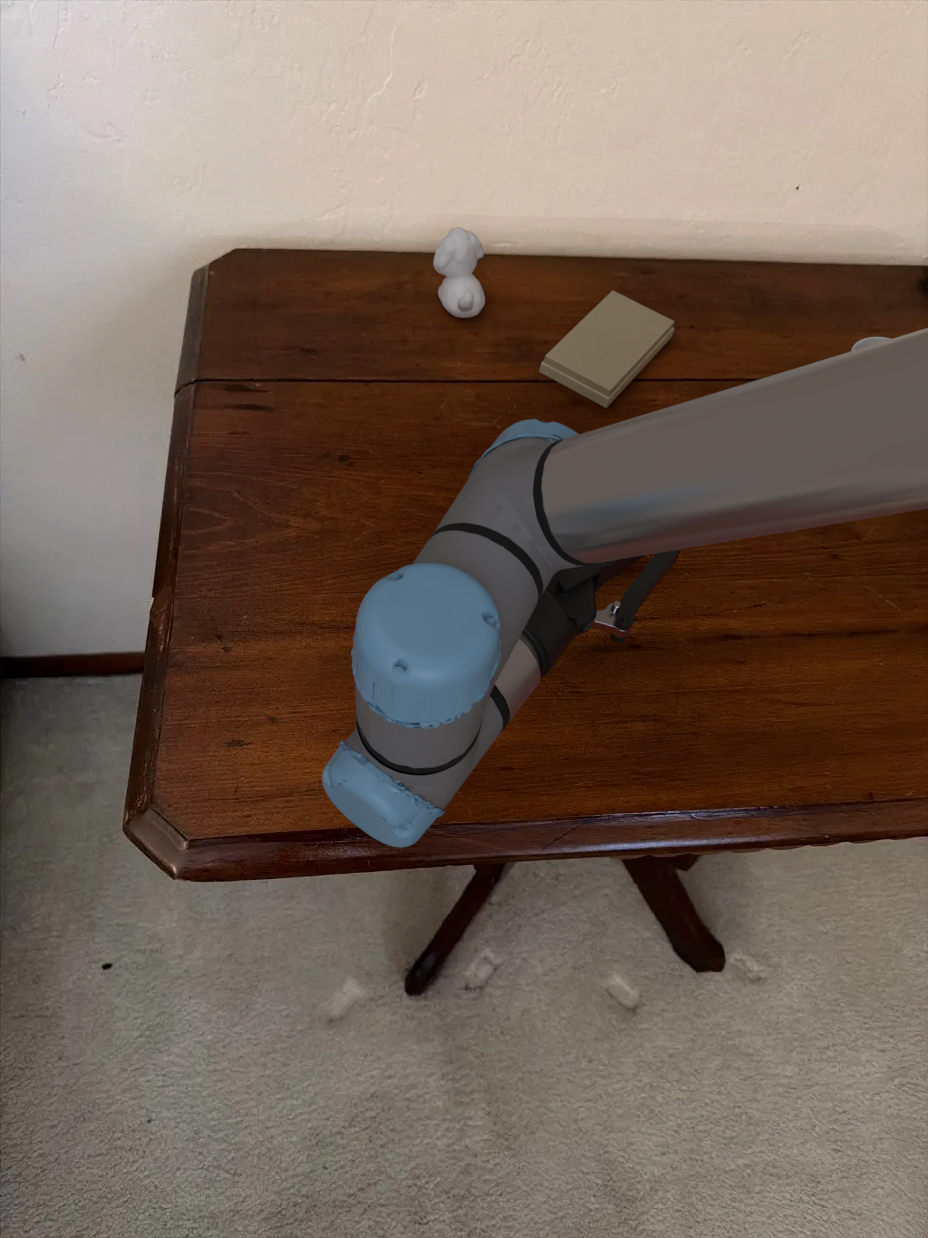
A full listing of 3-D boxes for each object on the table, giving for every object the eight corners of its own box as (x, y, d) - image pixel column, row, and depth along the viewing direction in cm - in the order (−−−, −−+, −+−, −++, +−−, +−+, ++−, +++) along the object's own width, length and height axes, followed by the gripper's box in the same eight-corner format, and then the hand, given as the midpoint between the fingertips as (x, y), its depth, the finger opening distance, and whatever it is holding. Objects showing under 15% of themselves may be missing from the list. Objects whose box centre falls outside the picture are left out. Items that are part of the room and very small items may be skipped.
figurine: (464, 278, 96) (471, 210, 90) (499, 322, 93) (509, 255, 86) (420, 289, 95) (424, 221, 88) (454, 335, 91) (461, 267, 84)
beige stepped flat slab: (671, 337, 94) (677, 320, 92) (606, 408, 87) (611, 392, 85) (607, 304, 96) (612, 288, 94) (538, 371, 89) (542, 355, 87)
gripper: (393, 608, 67) (554, 436, 78) (600, 742, 62) (738, 539, 73) (395, 548, 60) (569, 370, 72) (625, 692, 56) (773, 478, 67)
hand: (654, 456), depth 73 cm, fingers closed on pill bottle, 5 cm apart
